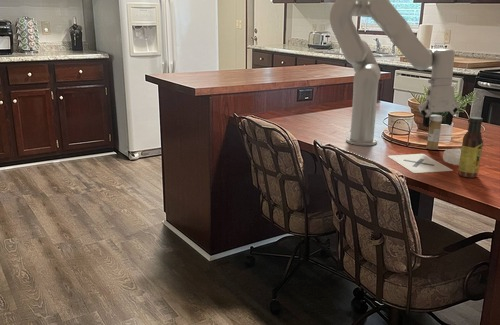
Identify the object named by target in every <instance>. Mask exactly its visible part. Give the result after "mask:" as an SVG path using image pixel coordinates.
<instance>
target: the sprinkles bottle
mask: <svg viewBox="0 0 500 325" xmlns="http://www.w3.org/2000/svg"><path fill="white" fill-rule="evenodd" d="M429 117H430V121H429V127H428V134H427V142H426V146H425V148H426V149H428V150H432V151H433V150H435V151H436V150H438V149H439V142H440V137H441V136H440V135H441V129H442V128H441V125H442V121H443V116H442V115H440V114H430V115H429Z"/></svg>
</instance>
